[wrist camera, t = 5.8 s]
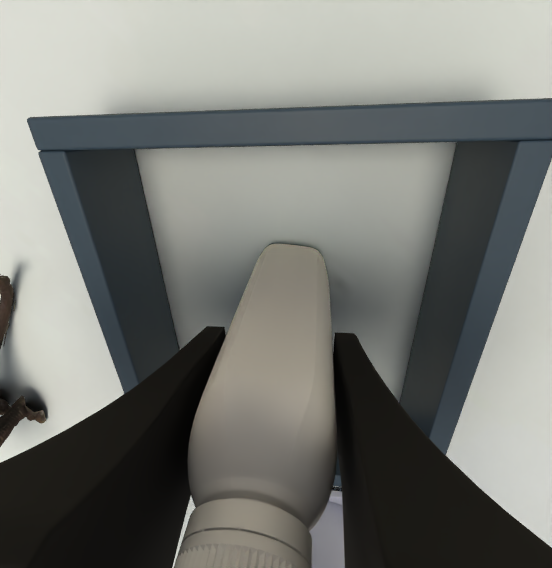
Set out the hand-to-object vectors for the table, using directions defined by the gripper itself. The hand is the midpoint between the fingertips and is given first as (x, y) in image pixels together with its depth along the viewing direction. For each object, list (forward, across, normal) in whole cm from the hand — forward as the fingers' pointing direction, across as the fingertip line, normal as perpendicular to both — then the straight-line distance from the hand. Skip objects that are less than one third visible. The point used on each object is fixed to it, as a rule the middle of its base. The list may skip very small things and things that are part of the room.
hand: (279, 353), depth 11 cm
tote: (+3, 0, 0) cm, 3 cm away
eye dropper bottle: (+4, 0, 0) cm, 4 cm away
